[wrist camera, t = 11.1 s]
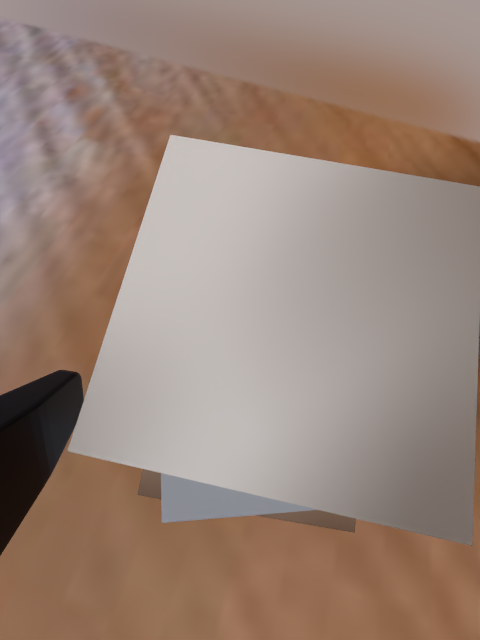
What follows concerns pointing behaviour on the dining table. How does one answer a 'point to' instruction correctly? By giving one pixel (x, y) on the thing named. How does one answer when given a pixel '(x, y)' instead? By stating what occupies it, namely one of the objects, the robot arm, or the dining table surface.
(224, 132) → the dining table surface
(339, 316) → the pillar
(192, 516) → the tower top slab
